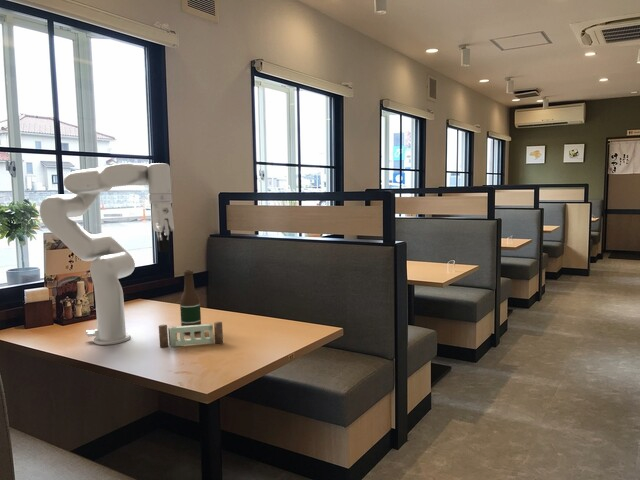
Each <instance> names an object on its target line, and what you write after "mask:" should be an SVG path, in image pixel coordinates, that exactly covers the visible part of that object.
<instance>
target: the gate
mask: <svg viewBox="0 0 640 480" xmlns="http://www.w3.org/2000/svg"><path fill="white" fill-rule="evenodd" d="M213 325H214V323H205V324H201V325H190V326H181V325H179V326H170V327H168V328H169V330H170V345H169V346H170V347H171V348H176V347H178V346H179V347H180V346H190V345H202V344H204V345H205V344H211V345H212V344H214V328H213ZM197 331H201V332H200V337H195V334H194V332H197ZM207 331H208V332H209V333H208V335H209V336H205V333H206V332H207ZM184 332H190V338H185V334H184ZM178 334H179V338H178Z"/></svg>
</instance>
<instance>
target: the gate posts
mask: <svg viewBox="0 0 640 480" xmlns="http://www.w3.org/2000/svg"><path fill="white" fill-rule="evenodd" d="M213 325H214V328H213V332H214V345H223V344H224V334H223V333H224V332H223V321H215V322H213ZM169 328H170V327H168V325H167V324H159V325H158V335H159V336H158V337H159V348H160V349H165V348H168V347H169V346H170V330H169Z"/></svg>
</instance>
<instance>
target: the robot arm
mask: <svg viewBox="0 0 640 480" xmlns="http://www.w3.org/2000/svg"><path fill="white" fill-rule="evenodd" d="M63 185H64V188H65V189H66V190H67V191H68V192H69V193H70V194H54V195H51V196H47V197H46V198H44V199H43V200H41V203H40V205H39V216H40V219H41V221H42V224H44V226H45V227H46V229H47V230H48V231H50V232H51V233H52V234H53V235H54V236H55V237H57V238H58V239H59V240H60V241H61V242H62V243H63V244H64V246H66V247H67V248H68V249H69V250H70V251H71V252H72V253H73V255H75V256H76V257H77V258H78V259H80V260H81V261H84V262H91V263H90V268H89V272H90V276H91V280H92V284H93V291H94V299H95V311H96V312H95V313H96V314H95V315H96V324H97V325H96V326H97V328H96V329H94V330H93V329H91V330H89V329H87V330H86V332H85V333H86V334H85V335H86V336H87V337H89V338H90V337H94V338H93V343H94V344H95V345H101V346H106V345H107V346H108V345H115V344H120V343H124V342H126V341H129V340H130V339H131V333H129V332H127V331H126V329H127V328H126V318H125V317H126V316H125V315H126V314H125V304H124V303H125V301H124V300H125V299H124V292H123V290H124V289H123V287H122V284H121V282H120V281H119V279H123V278H125V277H128V276H130V275H132V273H133V272H134V270H135V268H136V265H135V264H136V263H135V261H134V260H135V259H134V258H133V256H132V255H131V254H130V253H129V252H128V251H127V250H126V248H124V247H123V246H122V245H121V244H120V243H119V242H118V241H117V240H115V239H114V238H113V237H112V236H110V235H108V234H106V233H96V234H93V233H92V234H91V233H89V232H88V231H87V230H85V229H84V228H83V226H81V224H79V223H78V222H76V221H74V220H72V219H71V218H77V217H81V216H83V215H85V214H86V213H87V211H88V210H90V208H91V207H92V205H93V203H95V201H96V199H97V198H98V197H99V195H100V194H101V192H108V191H111V189H113V188H115V187H123V186H126V187H127V186H148V199H149V204H151V219H152V220H151V221H152V223H151V224H152V229H153V231H154V232H156V235H157V251H158V252H160V253H165V252H169V250H170V245H169V235H170V232H173V231H175V223H174V215H173V214H174V213H173V209H172V203H173V197H172V178H171V167H170V165H169V164H168V163H163V162H161V163H160V162H158V163H157V162H156V163H150V164H148V163H147V164H145V163H137V162H136V163H133V162H126V163H125V162H124V163H116V164H111V165H105V166H102V167H95V168H87V169H80V170H74V171H71V172H69V173H67V174H66V175H65V177H64V179H63Z"/></svg>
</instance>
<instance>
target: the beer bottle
mask: <svg viewBox="0 0 640 480" xmlns="http://www.w3.org/2000/svg"><path fill="white" fill-rule="evenodd" d="M193 274H194V271H193V270H192V269H186V270H184V271H183V275H184V277H183V278H184V280H183V281H184V282H183V285H184V288H183V292H182V295H181V297H180V301H179V304H180V305H179V307H180V310H179V311H180V326H190V325H202V317H201V316H202V315H201V300H200V296H199V294H198V292H196V290H195V283H194V276H193ZM197 334H201V331H197V332H194V335H197ZM184 335H186V336H187V335H188V336H189V335H190V332H184ZM190 336H191V335H190Z"/></svg>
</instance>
